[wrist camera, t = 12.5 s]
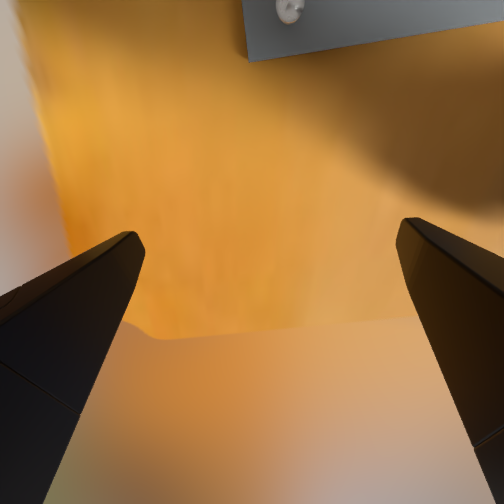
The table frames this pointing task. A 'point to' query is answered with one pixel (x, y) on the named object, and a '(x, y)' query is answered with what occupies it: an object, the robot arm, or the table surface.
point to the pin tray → (352, 22)
